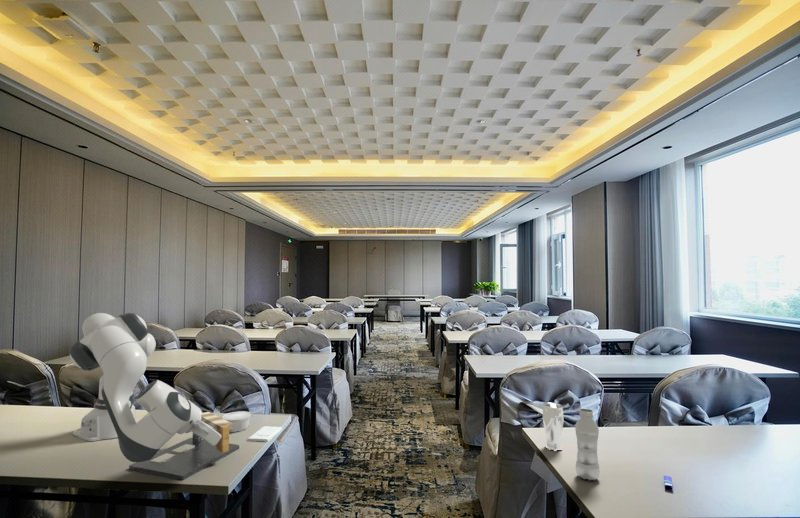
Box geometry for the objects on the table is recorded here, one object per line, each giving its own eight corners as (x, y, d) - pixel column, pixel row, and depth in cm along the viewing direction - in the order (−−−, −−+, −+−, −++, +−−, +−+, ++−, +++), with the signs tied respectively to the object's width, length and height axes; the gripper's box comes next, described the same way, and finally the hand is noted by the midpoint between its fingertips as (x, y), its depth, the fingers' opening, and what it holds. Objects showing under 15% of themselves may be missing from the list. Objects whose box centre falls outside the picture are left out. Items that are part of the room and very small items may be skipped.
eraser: (664, 491, 114) (664, 483, 114) (663, 482, 119) (663, 475, 119) (672, 492, 113) (672, 485, 113) (671, 483, 118) (671, 476, 118)
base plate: (129, 469, 127) (130, 430, 127) (190, 440, 149) (191, 408, 150) (183, 480, 120) (184, 439, 120) (239, 448, 142) (239, 414, 143)
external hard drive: (282, 431, 161) (267, 443, 148) (263, 430, 162) (247, 442, 150) (282, 426, 161) (267, 439, 148) (263, 426, 162) (247, 437, 150)
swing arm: (196, 437, 144) (197, 414, 145) (207, 433, 147) (208, 411, 148) (222, 453, 131) (223, 427, 131) (234, 449, 134) (235, 424, 134)
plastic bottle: (571, 473, 123) (569, 407, 125) (592, 472, 124) (590, 406, 125) (582, 484, 117) (581, 414, 118) (605, 483, 118) (602, 413, 119)
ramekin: (235, 422, 170) (235, 409, 170) (256, 425, 166) (257, 412, 166) (214, 431, 159) (214, 417, 159) (236, 435, 155) (237, 421, 155)
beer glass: (564, 446, 144) (563, 403, 145) (563, 453, 138) (562, 409, 139) (544, 442, 147) (543, 401, 148) (542, 450, 141) (541, 406, 142)
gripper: (206, 416, 120) (237, 440, 126) (181, 402, 134) (211, 424, 140) (189, 436, 116) (222, 459, 123) (166, 419, 130) (197, 441, 137)
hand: (216, 441), depth 132 cm, fingers closed
